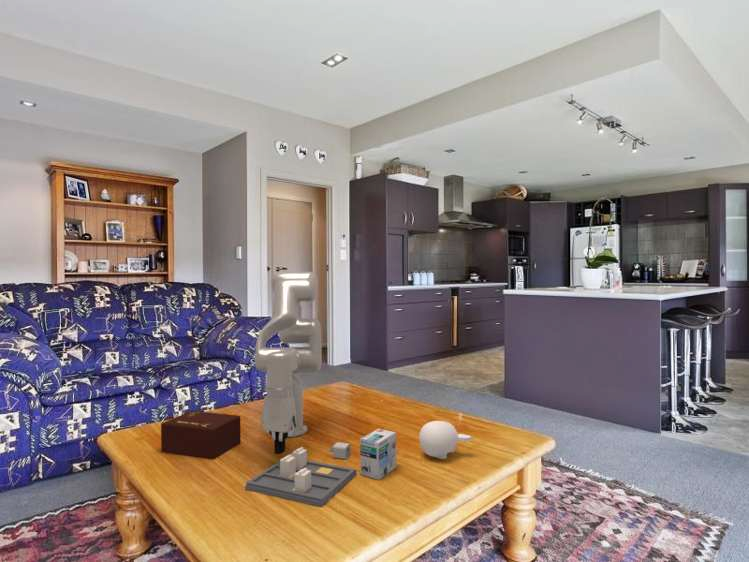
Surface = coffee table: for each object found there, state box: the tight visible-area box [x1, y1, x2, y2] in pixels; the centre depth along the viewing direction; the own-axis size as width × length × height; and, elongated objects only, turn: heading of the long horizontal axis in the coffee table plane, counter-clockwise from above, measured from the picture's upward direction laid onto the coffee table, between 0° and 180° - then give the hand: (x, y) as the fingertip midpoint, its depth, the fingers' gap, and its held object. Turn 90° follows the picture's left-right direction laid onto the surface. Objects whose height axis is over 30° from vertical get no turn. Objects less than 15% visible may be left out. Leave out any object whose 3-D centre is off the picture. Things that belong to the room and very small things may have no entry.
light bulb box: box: [359, 428, 397, 481], centre depth 134 cm, size 11×7×11 cm, turn 148°
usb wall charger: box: [326, 442, 352, 460], centre depth 145 cm, size 4×7×4 cm, turn 70°
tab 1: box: [279, 454, 296, 477], centre depth 129 cm, size 3×3×5 cm
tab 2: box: [291, 446, 308, 469], centre depth 134 cm, size 3×3×5 cm
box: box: [160, 410, 242, 461], centre depth 154 cm, size 21×16×10 cm
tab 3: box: [295, 468, 311, 493], centre depth 120 cm, size 3×3×5 cm
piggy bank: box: [418, 420, 472, 460], centre depth 145 cm, size 12×12×15 cm
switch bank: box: [244, 459, 357, 508], centre depth 127 cm, size 24×20×2 cm
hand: (279, 452), depth 136 cm, fingers closed
